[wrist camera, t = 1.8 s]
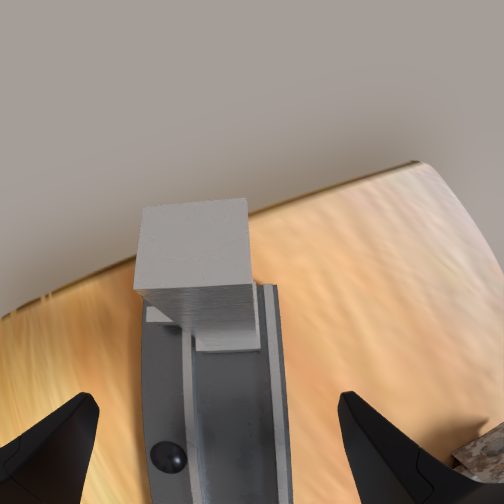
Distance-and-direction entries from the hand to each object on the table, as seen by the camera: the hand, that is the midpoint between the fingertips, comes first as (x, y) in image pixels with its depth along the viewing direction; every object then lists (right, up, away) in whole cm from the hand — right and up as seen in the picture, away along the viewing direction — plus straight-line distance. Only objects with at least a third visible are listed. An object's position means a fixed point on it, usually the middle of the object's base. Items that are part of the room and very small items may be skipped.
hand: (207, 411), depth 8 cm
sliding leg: (-2, +1, +11) cm, 11 cm away
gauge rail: (-1, -9, +8) cm, 12 cm away
